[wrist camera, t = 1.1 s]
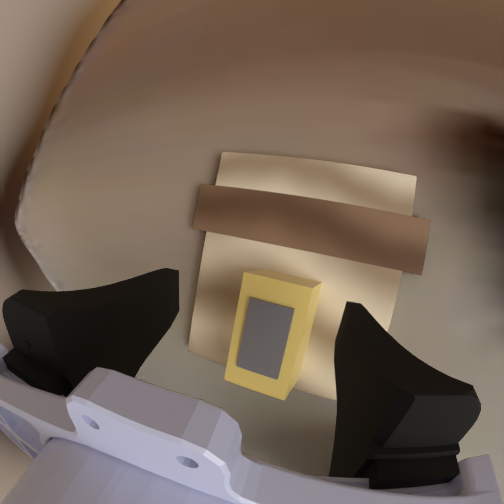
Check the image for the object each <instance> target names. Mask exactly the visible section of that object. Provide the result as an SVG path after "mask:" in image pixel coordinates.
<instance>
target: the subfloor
mask: <svg viewBox="0 0 504 504" xmlns="http://www.w3.org/2000/svg"><path fill="white" fill-rule="evenodd" d="M415 187H416V176H411V175H407V174H402V173H396V172H391V171H386V170H380V169H374V168H369V167H362V166H356V165H350V164H343V163H336V162H328V161H321V160H313V159H304V158H295V157H285V156H274V155H262V154H248V153H232V152H222V156H221V160H220V165H219V170H218V175H217V180H216V185H208V184H201V185H200V190H199V195H198V200H197V205H196V211H195V216H194V221H193V227H192V229H197V230H202V231H207V232H206V237H205V243H204V248H203V254H202V260H201V266H200V272H199V278H198V284H197V291H196V297H195V304H194V310H193V317H192V324H191V331H190V338H189V346H188V351H189V352H192V353H194V354H196V355H199V356H201V357H204V358H206V359H209V360H212V361H214V362H217V363H219V364H222V365H225V366H227V361H228V355H229V350H230V344H231V339H232V333H233V328H234V322H235V317H236V312H237V306H238V301H239V295H240V290H241V285H242V279H243V274H244V272H247V271H254V270H262V269H266V270H270V271H275V272H279V273H283V274H288V275H292V276H297V277H301V278H305V279H310V280H314V281H319V282H322V286H321V290H320V295H319V299H318V304H317V308H316V312H315V316H314V321H313V325H312V329H311V333H310V337H309V341H308V345H307V349H306V353H305V356H304V360H303V364H302V368H301V371H300V375H299V378H298V380H297V382H296V383H295V385H294V386H293V389H296V390H300V391H303V392H307V393H310V394H314V395H318V396H321V397H325V398H329V399H333V400H337V396H336V382H335V369H334V348H335V339H336V336H337V333H338V329H339V326H340V323H341V319H342V316H343V312H344V309H345V305H346V302H347V301H349V302H356V303H361V304H362V305H363V306H364V307H365V308H366V309H367V310H368V311H369V313H370V314H371V315H372V316H373V317H374V318H375V319H376V321H377V322H378V323H379V324H380V325H381V326H382V327H383V328H384V329H385V330H386V331H387V332H388V329H389V325H390V321H391V318H392V314H393V310H394V306H395V302H396V298H397V294H398V290H399V285H400V281H401V276H402V271H404V272H408V273H413V274H418V275H422V270H423V265H424V260H425V254H426V249H427V243H428V236H429V230H430V222H431V220H427V219H422V218H418V217H413V216H412V212H413V205H414V196H415Z"/></svg>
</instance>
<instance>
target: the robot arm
mask: <svg viewBox="0 0 504 504" xmlns="http://www.w3.org/2000/svg"><path fill="white" fill-rule="evenodd" d="M2 311H3V318H4V321H5V325H6V327H7V330H8V333H9V336H10V338H11V341H12V344H13V346H14V348H13V349H12V350H11V351H10V352H9V350H8V349H7V348H6V347H5V346H4V345H3V344H2V343H0V429H1V430H2V431H3V432H4V433H5V434H6V435H7V436H8V437H9V438H10V439H11V440H12V441H13V442H14V443H15V444H16V445H18V446H19V447H20V448H21V449H22V450H23V451H24V452H25V453H26V454H28V455H29V456H30V457H31V458H32V459H33V460H34V461H33V462H32V463H31V464H30V466H29V467H28V468H27V470H26V471H25V472H24V473H23V475H22V476H21V477H20V478H19V480H18V481H17V482H16V484H15V485H14V487H13V488H12V489H11V490H10V492H9V493H8V494H7V496H6V497H5V498H4V500H3V501H2V502H1V504H503V502H502V497H501V493H500V489H499V485H498V481H497V478H496V474H495V471H494V467H493V464H492V461H491V457H490V455H488V454H487V455H482V456H477V457H471V458H467V459H464V460H462V461H460V462H457V458H456V455H458V454H459V452H460V447H459V444H458V442H459V441H460V440H461V439H462V438H463V437H464V435H465V434H466V433H467V432H468V431H469V430H470V428H471V427H472V426H473V425H474V423H475V422H476V420H477V418H478V417H479V414H480V411H481V403H480V401H479V399H478V396H477V394H476V392H475V390H474V387H473V385H470V384H468V383H465V382H462V381H460V380H457V379H455V378H452V377H450V376H448V375H446V374H444V373H442V372H440V371H438V370H436V369H434V368H432V367H431V366H429V365H427V364H426V363H424V362H423V361H421V360H420V359H418V358H417V357H415V356H414V355H413V354H411V353H410V352H409V351H408V350H406V349H405V348H404V347H403V346H401V345H400V344H399V343H398V342H397V341H396V340H395V339H394V338H393V337H392V336H391V335H390V334H389V333H388V332H387V331H386V330H385V329H384V328H383V327H382V326H381V325H380V324H379V323H378V322H377V321H376V319H375V318H374V317H373V316H372V315H371V314H370V313H369V311H368V310H367V309H366V308H365V307H364V306H363V305H362V304H361V303H356V302H349V301H347V302H346V305H345V309H344V312H343V316H342V319H341V323H340V326H339V329H338V333H337V336H336V339H335V348H334V369H335V382H336V396H337V417H336V430H335V439H334V448H333V455H332V461H331V468H330V473H329V477H326V476H314V475H306V474H303V473H299V472H296V471H293V470H289V469H286V468H283V467H280V466H277V465H274V464H271V463H268V462H265V461H262V460H260V459H257V458H254V457H252V456H249V455H246V454H244V453H241V441H242V434H241V431H240V427H239V424H238V423H237V422H236V421H235V420H234V419H233V418H232V417H231V416H230V415H228V414H227V413H226V412H225V411H224V410H223V409H222V408H220V407H217V406H215V405H212V404H210V403H208V402H206V401H203V400H201V399H197V398H194V397H190V396H187V395H184V394H180V393H177V392H174V391H171V390H168V389H165V388H162V387H159V386H156V385H153V384H150V383H147V382H144V381H141V380H139V379H136V378H134V377H135V376H136V374H137V372H138V370H139V369H140V367H141V365H142V364H143V362H144V361H145V360H146V358H147V357H148V356H149V354H150V353H151V352H152V350H153V349H154V348H155V347H156V345H157V344H158V343H159V341H160V340H161V339H162V337H163V336H164V335H165V333H166V332H167V331H168V329H169V328H170V327H171V325H172V323H173V321H174V320H175V318H176V316H177V314H178V312H179V271H178V270H174V269H169V268H164V269H159V270H156V271H152V272H149V273H146V274H143V275H140V276H137V277H134V278H131V279H128V280H124V281H121V282H117V283H114V284H110V285H106V286H102V287H96V288H91V289H84V290H75V291H59V292H48V291H33V290H20V291H18V292H17V293H15V294H14V295H12V296H11V297H9V298H7V299H6V300H5V301H4V303H3V309H2Z"/></svg>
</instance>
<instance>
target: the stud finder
mask: <svg viewBox="0 0 504 504" xmlns="http://www.w3.org/2000/svg"><path fill="white" fill-rule="evenodd" d="M321 286H322V282H319V281H314V280H310V279H305V278H301V277H297V276H292V275H288V274H283V273H279V272H275V271H270V270H266V269H262V270H254V271H247V272H244V274H243V279H242V285H241V290H240V295H239V301H238V306H237V312H236V317H235V322H234V328H233V333H232V339H231V344H230V350H229V355H228V361H227V366H226V372H225V377H224V380H227V381H230V382H232V383H235V384H238V385H240V386H243V387H246V388H249V389H251V390H254V391H257V392H260V393H263V394H266V395H269V396H272V397H275V398H278V399H281V400H285V399H286V397H287V396H288V394H289V393H290V391H291V390H292V388H293V386H294V385H295V383H296V382H297V380H298V378H299V375H300V371H301V368H302V364H303V360H304V356H305V353H306V349H307V345H308V341H309V337H310V333H311V329H312V325H313V321H314V316H315V312H316V308H317V304H318V299H319V295H320V290H321Z"/></svg>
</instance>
